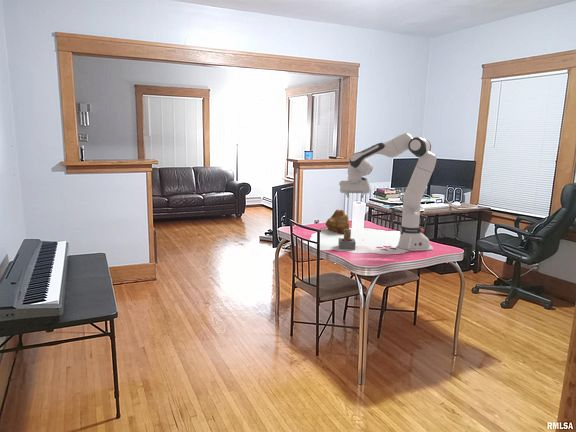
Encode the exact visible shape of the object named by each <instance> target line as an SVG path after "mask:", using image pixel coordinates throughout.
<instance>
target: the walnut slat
mask: <svg viewBox="0 0 576 432" xmlns="http://www.w3.org/2000/svg"><path fill="white" fill-rule="evenodd" d="M351 234H352V229H351V228H349V229H344V233H343V238H344V241H350V239H352V237H351Z"/></svg>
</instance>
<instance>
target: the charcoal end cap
mask: <svg viewBox="0 0 576 432" xmlns="http://www.w3.org/2000/svg"><path fill="white" fill-rule="evenodd" d="M356 243H357V242H356V240H355V238H351V239H350V241H344V237H343V238H341V237H338V243H337V245H338V250H339V249H345V250H344V251H356V250H355V246H356Z"/></svg>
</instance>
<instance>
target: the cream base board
mask: <svg viewBox="0 0 576 432" xmlns="http://www.w3.org/2000/svg"><path fill="white" fill-rule="evenodd" d="M338 250H339V251H346V250H345V249H339V248H338ZM354 251H361V252H362V251H364V252H371V251H372V249H371V247H370V246H369V245H355V250H354Z"/></svg>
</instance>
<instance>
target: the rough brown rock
mask: <svg viewBox="0 0 576 432" xmlns="http://www.w3.org/2000/svg"><path fill="white" fill-rule="evenodd" d="M349 220H350V219H349V216H348V215H347V214H346V213H345V210H343V209H336V210H335V211H334V213H333V214H332V215H331V216H330V217H329V218H328V219H327V220H326V222H325V226H326V228H327V229H328V230H330V231H334V232H335V233H338V234H340V233H341V234H344V229H350V221H349Z"/></svg>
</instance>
